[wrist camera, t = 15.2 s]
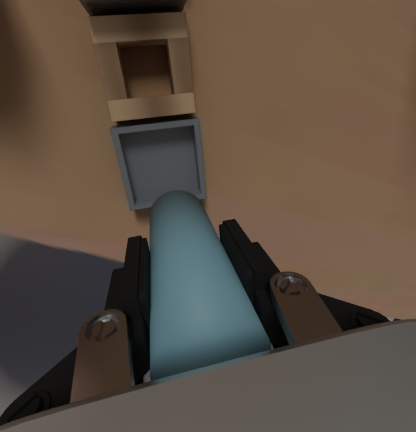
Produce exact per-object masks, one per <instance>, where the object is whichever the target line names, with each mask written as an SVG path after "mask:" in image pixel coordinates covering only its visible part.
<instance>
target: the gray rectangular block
mask: <svg viewBox="0 0 416 432" xmlns="http://www.w3.org/2000/svg"><path fill="white" fill-rule="evenodd" d="M79 1H80V2H81V4H82V5H83V6H84V8H85V9H86V11H87V12H88V14H89V15H90V16H109V15H130V14H151V13H171V12H182V9H183V7H184V4H185V2H186V0H79Z"/></svg>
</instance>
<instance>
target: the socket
mask: <svg viewBox="0 0 416 432" xmlns="http://www.w3.org/2000/svg"><path fill="white" fill-rule="evenodd" d="M87 19H88V23H89V27H90V31H91V35H92V40H93V44H94V48H95V52H96V56H97V60H98V65H99V69H100V73H101V77H102V81H103V86H104V90H105V94H106V98H107V102H108V106H109V111H110V115H111V119H112V122H115V121H124V120H133V119H142V118H151V117H160V116H169V115H178V114H187V113H196V112H195V103H194V93H193V83H192V73H191V63H190V54H189V44H188V34H187V24H186V14H185V12H171V13H151V14H130V15H109V16H88V17H87ZM157 45H165V46H166V53H167V61H168V68H169V76H170V83H171V90H172V95H162V96H152V97H142V98H131V99H129V94H128V89H127V84H126V80H125V75H124V70H123V65H122V60H121V55H120V50H119V48H128V47H142V46H157Z"/></svg>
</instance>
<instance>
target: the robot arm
mask: <svg viewBox="0 0 416 432" xmlns="http://www.w3.org/2000/svg"><path fill="white" fill-rule="evenodd" d="M219 232H220V241H221V243H222V245H223V247H224V250H225V252H226V254H227V256H228V258H229V260H230V262H231V264H232V266H233V268H234V270H235V272H236V274H237V276H238V278H239V280H240V282H241V284H242V286H243V288H244V290H245V292H246V294H247V296H248V298H249V300H250V302H251V304H252V306H253V308H254V310H255V312H256V314H257V316H258V318H259V320H260V322H261V324H262V326H263V328H264V330H265V332H266V334H267V336H268V338H269V340H270V344H271V350H267V351H264V352H260V353H256V354H252V355H248V356H244V357H241V358H237V359H233V360H229V361H225V362H221V363H218V364H214V365H210V366H206V367H202V368H198V369H195V370H191V371H187V372H183V373H179V374H176V375H172V376H168V377H164V378H161V379H157V380H153V381H149V382H146V380H145V376H144V375H145V374H146V373H147V372H148V371H149V370H150V251H149V247H148V243H147V239H146V238H142V237H141V236H136V237H130V238H128V243H127V249H126V256H125V262H124V268H119V269H114V270H113V272H112V277H111V281H110V287H109V291H108V296H107V300H106V305H105V309H104V310H103V311H101V312H98V313H97V314H95V315H93V316H92V317H90V318H89V319H88V320H87V321H86V322H85V323H84V325H83V326H82V328H81V330H80V333H79V340H78V347H76V348H75V349H74V350H73V351H72V352H71V353H69V354H68V355H67V356H66V357H65V358H64V359H62V360H61V361H60V362H59V363H58V364H57V365H55V366H54V367H53V368H52V369H51V370H50V371H48V372H47V373H46V374H45V375H44V376H42V377H41V378H40V379H39V380H38V381H37V382H36V383H34V384H33V385H32V386H31V387H30V388H29V389H27V390H26V391H25V392H24V393H23V394H21V395H20V396H19V397H18V398H17V399H16V400H14V401H13V403H11V404H10V406H8V408H7V409H6V410H5V411H4V413H3V414H2V415H1V417H0V432H416V319H405V320H400V319H394V320H393V321H390V320H388V319H387V318H386V317H385V316H383V315H382V314H380V313H378V312H375V311H373V310H370V309H367V308H364V307H361V306H357V305H354V304H351V303H348V302H345V301H341V300H338V299H335V298H332V297H329V296H325V295H322V294H319V293H317V291H316V290H315V288H314V287H313V285H312V284H311V282H310V281H309V280H308V279H307V278H306V277H304V276H303V275H301V274H298V273H295V272H280V271H279V269H278V268H277V267H276V265H275V264H274V263H273V261H272V260H271V259H270V257H269V256H268V255H267V253H266V252H265V251H264V250H263V248H262V247H261V246H260V244H259V243H258V242H253V243H252V242H251V241H250V240H249V238H248V237H247V235H246V234H245V233H244V231H243V230H242V228H241V227H240V226H239V224H238V223H237V221H236V220H235V219H232V220H226V221H223V224H220V225H219Z"/></svg>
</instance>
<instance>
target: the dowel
mask: <svg viewBox="0 0 416 432" xmlns="http://www.w3.org/2000/svg"><path fill="white" fill-rule="evenodd" d="M267 350H271V344H270V340H269V338H268V336H267V334H266V332H265V330H264V328H263V326H262V324H261V322H260V320H259V318H258V316H257V314H256V312H255V310H254V308H253V306H252V304H251V302H250V300H249V298H248V296H247V294H246V292H245V290H244V288H243V286H242V284H241V282H240V280H239V278H238V276H237V274H236V272H235V270H234V268H233V266H232V264H231V262H230V260H229V258H228V256H227V254H226V252H225V250H224V247H223V245H222V243H221V241H220V239H219V237H218V235H217V233H216V231H215V229H214V227H213V225H212V223H211V221H210V219H209V217H208V215H207V213H206V211H205V209H204V207H203V205H202V203H201V202H200V200H199V199H198V198H197V197H196V196H195V195H193V194H192V193H190V192H187V191H183V190H173V191H169V192H166V193H164V194H162V195H161V196H160V197H158V198H157V199H156V200H155V202H154V203H153V205H152V207H151V210H150V378H151V381H153V380H157V379H161V378H164V377H168V376H172V375H176V374H179V373H183V372H187V371H191V370H195V369H198V368H202V367H206V366H210V365H214V364H218V363H221V362H225V361H229V360H233V359H237V358H241V357H244V356H248V355H252V354H256V353H260V352H264V351H267Z"/></svg>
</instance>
